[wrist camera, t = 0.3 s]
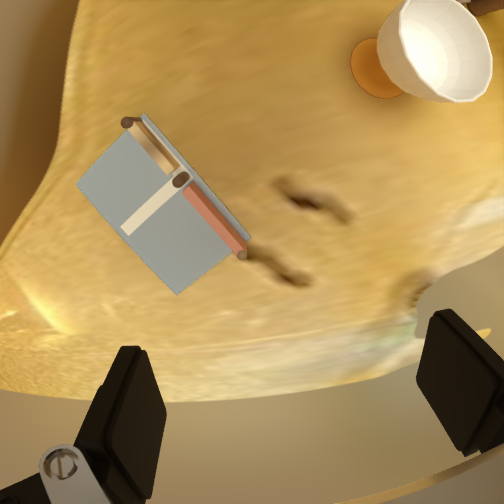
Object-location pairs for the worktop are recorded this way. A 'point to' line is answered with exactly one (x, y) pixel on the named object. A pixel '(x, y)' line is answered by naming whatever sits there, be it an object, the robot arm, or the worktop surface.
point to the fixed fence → (154, 149)
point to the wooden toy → (483, 6)
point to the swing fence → (216, 220)
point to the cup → (426, 54)
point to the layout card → (156, 210)
